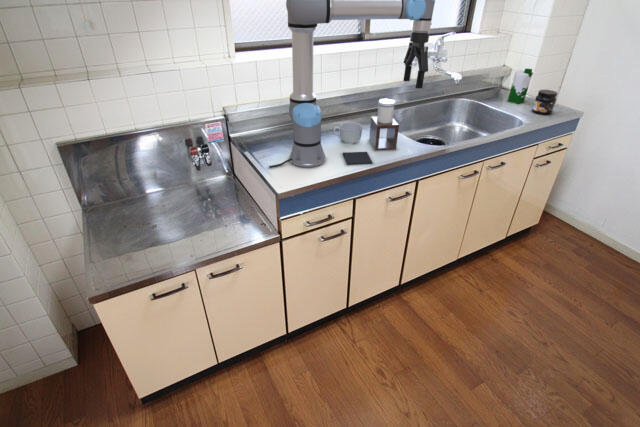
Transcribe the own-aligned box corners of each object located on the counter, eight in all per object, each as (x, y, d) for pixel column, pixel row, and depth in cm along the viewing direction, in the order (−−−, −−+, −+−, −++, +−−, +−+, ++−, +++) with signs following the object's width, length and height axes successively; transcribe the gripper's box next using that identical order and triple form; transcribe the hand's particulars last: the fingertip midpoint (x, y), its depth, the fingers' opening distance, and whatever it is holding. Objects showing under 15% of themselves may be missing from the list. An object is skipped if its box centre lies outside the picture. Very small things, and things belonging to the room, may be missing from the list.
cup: (378, 123, 173) (380, 103, 168) (375, 118, 179) (376, 98, 174) (394, 123, 174) (397, 103, 169) (390, 117, 180) (392, 98, 175)
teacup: (361, 137, 190) (362, 122, 186) (361, 146, 181) (362, 130, 177) (333, 136, 191) (333, 120, 187) (331, 145, 182) (332, 129, 178)
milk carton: (519, 104, 236) (529, 71, 225) (505, 101, 242) (514, 68, 231) (526, 102, 241) (536, 68, 230) (512, 98, 247) (521, 66, 236)
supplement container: (528, 112, 225) (534, 91, 218) (536, 108, 231) (542, 88, 224) (547, 116, 218) (554, 95, 211) (554, 112, 224) (561, 92, 217)
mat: (347, 165, 165) (347, 163, 164) (342, 154, 174) (342, 152, 173) (372, 163, 166) (372, 162, 165) (366, 153, 175) (366, 151, 174)
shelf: (374, 150, 177) (377, 125, 171) (369, 140, 187) (371, 116, 181) (395, 149, 178) (399, 124, 172) (389, 139, 188) (391, 115, 182)
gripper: (442, 35, 149) (432, 91, 160) (416, 28, 170) (409, 78, 181) (425, 35, 148) (416, 91, 159) (400, 28, 168) (394, 78, 179)
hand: (412, 84), depth 170 cm, fingers open, 13 cm apart
